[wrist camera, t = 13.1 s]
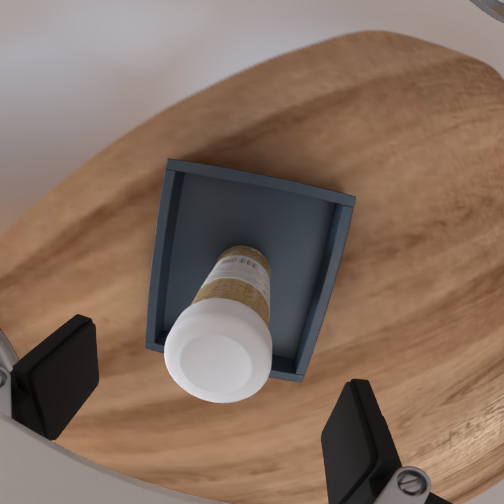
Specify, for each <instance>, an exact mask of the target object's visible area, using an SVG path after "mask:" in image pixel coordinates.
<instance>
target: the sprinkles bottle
mask: <svg viewBox="0 0 504 504" xmlns="http://www.w3.org/2000/svg"><path fill="white" fill-rule="evenodd" d="M270 278H271V269H270V265H269V263H268V260H267V259H266V257H265V256H264V255H263V254H262V253H261V252H260V251H258V250H257V249H254V248H253V247H248V246H244V245H241V246H234V247H232V248H230V249H228V250H226V251H224V252H223V253H222V254H221V255H220V256H219V258H218V259H217V262H216V264H215V267H214V268H213V270H212V272H211V273H210V274H209V275H208V277H207V278H206V280H205V281H204V283H203V285H202V286H201V288H200V290H199V291H198V293H197V295H196V296H195V299H194V300H193V302H192V304H191V305H190V307H188V308H187V309H185V310H184V311H183V312H182V313H181V315H180V316H179V317H178V319H177V320H176V322H175V324H174V325H173V327H172V329H171V331H170V333H169V334H168V337H167V339H166V342H165V347H164V357H165V363H166V366H167V368H168V371H169V373H170V374H171V376H172V378H173V379H174V380H175V381H176V382H177V384H178V385H179V386H180V387H182V388H183V389H184V390H185V391H187V392H188V393H190V394H191V395H193V396H195V397H198V398H200V399H203V400H206V401H210V402H216V403H231V402H236V401H240V400H243V399H246V398H248V397H250V396H251V395H253V394H255V393H256V392H257V391H258V390H260V389H261V387H262V386H263V385H264V384H265V382H266V381H267V379H268V377H269V374H270V371H271V365H272V339H271V335H270V332H269V329H268V327H269V319H270Z"/></svg>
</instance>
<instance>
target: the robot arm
mask: <svg viewBox="0 0 504 504" xmlns="http://www.w3.org/2000/svg"><path fill="white" fill-rule="evenodd" d="M497 1H499V2H501V3H503V4H504V0H497ZM12 368H13V370H12V371H11V372H9V371H8V370H7V369H6V368H4V367H2V366H0V504H233V503H227V502H222V501H217V500H212V499H207V498H202V497H198V496H194V495H190V494H186V493H182V492H178V491H174V490H171V489H167V488H164V487H160V486H157V485H154V484H151V483H148V482H145V481H142V480H139V479H136V478H133V477H130V476H128V475H125V474H122V473H120V472H117V471H114V470H112V469H109V468H107V467H105V466H102V465H100V464H97V463H95V462H93V461H91V460H88V459H86V458H84V457H82V456H80V455H78V454H76V453H74V452H71V451H69V450H67V449H65V448H64V447H62V446H60V445H58V444H56V443H54V442H52V441H51V440H56V439H57V438H58V437H59V435H60V434H61V433H62V431H63V430H64V429H65V427H66V426H67V425H68V423H69V422H70V421H71V419H72V418H73V417H74V415H75V414H76V413H77V411H78V410H79V409H80V408H81V406H82V405H83V404H84V402H85V401H86V400H87V398H88V397H89V396H90V395H91V393H92V392H93V391H94V389H95V388H96V387H97V385H98V383H99V371H98V359H97V344H96V326H95V324H94V323H93V322H92V319H91V318H88V317H85V316H82V315H80V314H77V315H75V316H74V317H73V318H71V319H70V320H69V321H67V322H66V323H65V324H64V325H62V326H61V327H60V328H59V329H57V330H56V331H55V332H54V333H52V334H51V335H50V336H49V337H47V338H46V339H45V340H44V341H42V342H41V343H40V344H39V345H37V346H36V347H35V348H34V349H33V350H31V351H30V352H29V353H28V354H26V355H25V356H24V357H23V358H22V359H20V360H19V361H18V362H17V363H16V364H15V365H13V366H12ZM321 442H322V450H323V457H324V466H325V474H326V482H327V491H328V500H329V504H452V503H450V502H448V501H446V500H444V499H442V498H440V497H439V496H437V495H435V494H433V493H431V492H430V490H431V480H430V478H429V476H428V475H427V474H426V473H425V472H424V471H422V470H421V469H419V468H416V467H413V466H405V467H402V464H401V462H400V459H399V456H398V453H397V450H396V448H395V445H394V442H393V439H392V437H391V434H390V431H389V429H388V426H387V423H386V421H385V418H384V417H383V416H382V414H381V411H380V408H379V406H378V403H377V401H376V398H375V396H374V393H373V390H372V388H371V385H370V383H369V381H368V380H363V379H352V380H351V381H350V382H347V383H346V384H345V386H344V388H343V390H342V392H341V394H340V397H339V399H338V401H337V403H336V405H335V407H334V409H333V411H332V413H331V415H330V417H329V419H328V421H327V423H326V425H325V427H324V429H323V431H322V435H321Z"/></svg>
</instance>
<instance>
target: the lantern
mask: <svg viewBox="0 0 504 504" xmlns="http://www.w3.org/2000/svg"><path fill="white" fill-rule="evenodd" d="M18 361H19V359H18V357H17V355H16V353H15V351H14V349H13V347H12V346H11V344H10V343H9V341H8V340H7V338H6V337H5V335H4V333H3V332H2V331H1V330H0V366H2V367H4V368H6V369H7V370H8V371H9V372H11V371H12V370H13V368H12V366H13V365H15V364H16V363H17V362H18Z"/></svg>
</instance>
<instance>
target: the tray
mask: <svg viewBox="0 0 504 504" xmlns="http://www.w3.org/2000/svg"><path fill="white" fill-rule="evenodd" d="M355 200H356V197H355V196H352V195H348V194H344V193H340V192H336V191H332V190H328V189H324V188H320V187H316V186H311V185H307V184H303V183H298V182H294V181H289V180H285V179H280V178H275V177H271V176H266V175H261V174H256V173H251V172H246V171H241V170H235V169H230V168H224V167H219V166H213V165H207V164H201V163H195V162H189V161H182V160H176V159H169V158H168V159H167V164H166V170H165V175H164V180H163V186H162V192H161V198H160V205H159V211H158V218H157V225H156V233H155V241H154V249H153V257H152V266H151V276H150V287H149V298H148V311H147V326H146V345H145V348H146V349H150V350H153V351H157V352H160V353H164V347H165V342H166V339H167V337H168V334H169V333H170V331H171V329H172V327H173V325H174V324H175V322H176V320H177V319H178V317H179V316H180V315H181V313H182V312H183V311H184V310H185V309H187V308H188V307H190V305H191V304H192V302H193V300H194V299H195V296H196V295H197V293H198V291H199V290H200V288H201V286H202V285H203V283H204V281H205V280H206V278H207V277H208V275H209V274H210V273H211V272H212V270H213V268H214V267H215V264H216V262H217V259H218V258H219V256H220V255H221V254H222V253H223V252H224V251H226V250H228V249H230V248H232V247H234V246H241V245H244V246H248V247H253V248H254V249H257V250H258V251H260V252H261V253H262V254H263V255H264V256H265V257H266V259H267V260H268V263H269V265H270V269H271V278H270V319H269V327H268V329H269V332H270V335H271V339H272V365H271V371H270V374H269V377H270V378H276V379H282V380H288V381H295V382H301V383H302V381H303V378H304V375H305V373H306V370H307V367H308V364H309V361H310V358H311V356H312V353H313V350H314V347H315V344H316V341H317V338H318V335H319V331H320V328H321V325H322V322H323V319H324V316H325V312H326V309H327V306H328V303H329V299H330V296H331V293H332V289H333V286H334V282H335V279H336V275H337V271H338V268H339V264H340V260H341V257H342V253H343V249H344V245H345V241H346V237H347V233H348V229H349V225H350V221H351V217H352V213H353V207H354V204H355Z"/></svg>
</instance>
